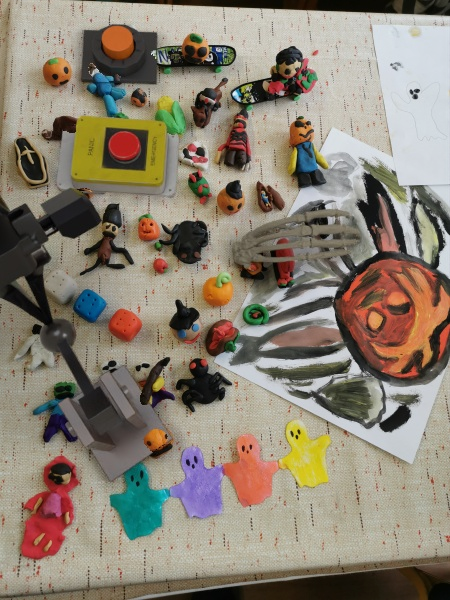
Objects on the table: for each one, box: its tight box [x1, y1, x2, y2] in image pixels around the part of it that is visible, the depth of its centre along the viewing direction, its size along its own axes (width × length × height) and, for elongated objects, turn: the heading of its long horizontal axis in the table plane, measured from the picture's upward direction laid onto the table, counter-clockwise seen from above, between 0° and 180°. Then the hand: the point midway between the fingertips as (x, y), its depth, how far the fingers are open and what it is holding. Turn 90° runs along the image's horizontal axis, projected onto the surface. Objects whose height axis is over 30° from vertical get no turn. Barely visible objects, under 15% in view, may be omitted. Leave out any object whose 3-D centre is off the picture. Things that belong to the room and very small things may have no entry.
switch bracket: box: [57, 364, 173, 483], centre depth 55 cm, size 10×8×17 cm
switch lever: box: [39, 317, 122, 435], centre depth 53 cm, size 15×4×4 cm
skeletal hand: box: [232, 208, 362, 272], centre depth 68 cm, size 6×17×6 cm, turn 103°
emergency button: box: [55, 115, 180, 198], centre depth 70 cm, size 9×4×15 cm
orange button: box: [102, 26, 134, 60], centre depth 74 cm, size 4×4×2 cm
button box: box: [80, 23, 158, 85], centre depth 75 cm, size 10×8×2 cm
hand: (49, 322), depth 56 cm, fingers closed, pressing on switch lever
